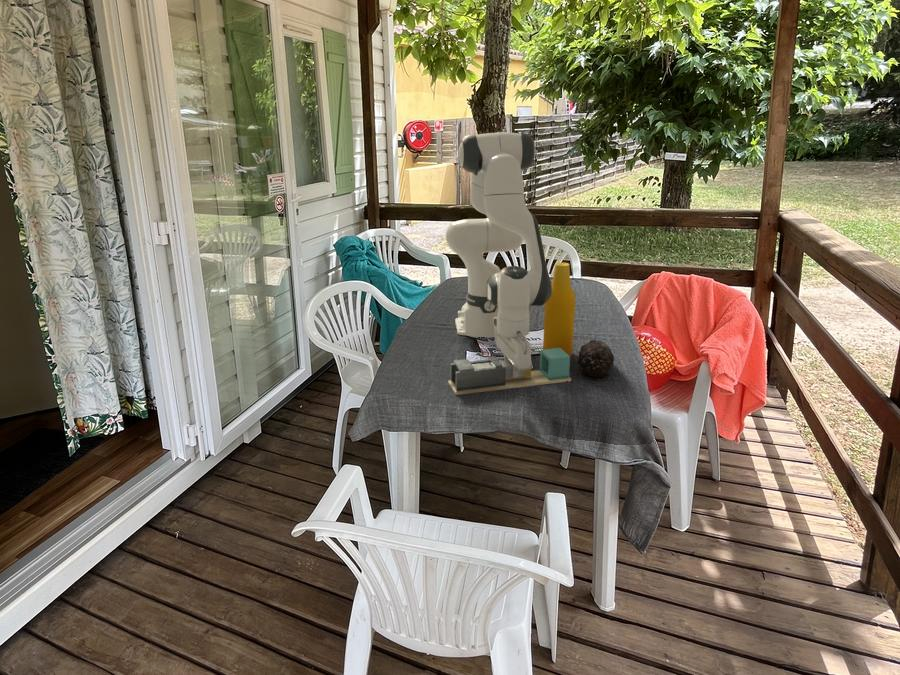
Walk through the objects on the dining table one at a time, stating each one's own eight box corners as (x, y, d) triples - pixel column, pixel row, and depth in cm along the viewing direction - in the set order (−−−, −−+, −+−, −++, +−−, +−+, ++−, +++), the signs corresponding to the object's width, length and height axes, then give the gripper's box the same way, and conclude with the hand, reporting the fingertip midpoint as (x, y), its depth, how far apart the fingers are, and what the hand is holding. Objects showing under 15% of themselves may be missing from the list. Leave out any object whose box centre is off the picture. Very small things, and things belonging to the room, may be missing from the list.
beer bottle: (545, 360, 194) (549, 268, 184) (540, 349, 203) (544, 260, 193) (575, 359, 194) (581, 267, 184) (569, 348, 203) (574, 260, 193)
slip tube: (458, 378, 177) (458, 365, 176) (525, 371, 182) (526, 358, 180) (462, 384, 173) (462, 371, 172) (531, 376, 178) (531, 363, 176)
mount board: (448, 383, 179) (448, 380, 179) (559, 370, 187) (559, 367, 186) (455, 394, 172) (455, 392, 171) (571, 381, 179) (571, 378, 179)
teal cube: (539, 373, 185) (540, 349, 182) (558, 371, 186) (559, 347, 183) (549, 382, 178) (550, 358, 176) (568, 380, 180) (570, 356, 177)
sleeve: (450, 381, 178) (450, 360, 176) (497, 375, 181) (497, 355, 179) (456, 391, 172) (456, 370, 170) (505, 385, 175) (505, 364, 173)
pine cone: (607, 359, 194) (610, 329, 191) (615, 383, 178) (618, 350, 174) (573, 358, 195) (575, 328, 192) (577, 382, 179) (580, 349, 175)
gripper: (538, 337, 165) (536, 386, 169) (512, 314, 183) (510, 358, 188) (515, 340, 163) (513, 388, 168) (491, 316, 182) (490, 360, 187)
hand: (512, 372), depth 178 cm, fingers closed on slip tube, 4 cm apart
